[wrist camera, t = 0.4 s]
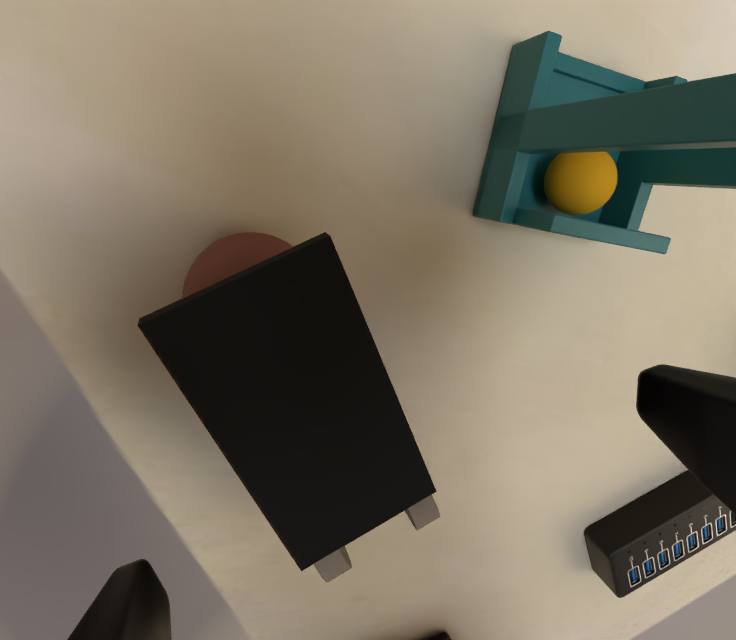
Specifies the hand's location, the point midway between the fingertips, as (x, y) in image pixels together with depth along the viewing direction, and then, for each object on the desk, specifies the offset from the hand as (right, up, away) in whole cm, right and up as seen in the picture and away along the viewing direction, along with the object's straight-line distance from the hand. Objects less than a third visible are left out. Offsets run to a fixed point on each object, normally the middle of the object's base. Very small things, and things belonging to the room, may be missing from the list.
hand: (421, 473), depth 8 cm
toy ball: (+8, +9, +13) cm, 18 cm away
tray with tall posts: (+8, +11, +15) cm, 20 cm away
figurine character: (-4, 0, +15) cm, 15 cm away
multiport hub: (+21, -10, +25) cm, 34 cm away
